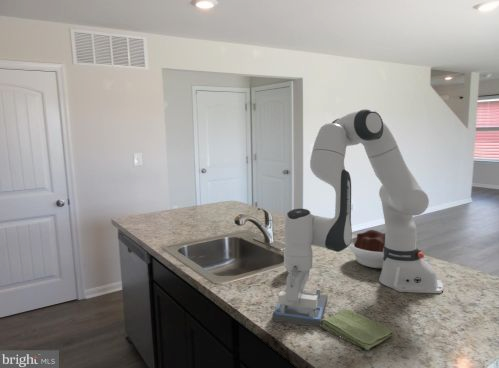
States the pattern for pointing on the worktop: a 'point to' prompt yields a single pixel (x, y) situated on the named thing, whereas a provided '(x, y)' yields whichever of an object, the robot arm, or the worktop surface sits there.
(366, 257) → the chocolate pudding dish
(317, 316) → the board
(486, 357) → the worktop surface
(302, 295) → the bar
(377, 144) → the robot arm
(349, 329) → the washcloth
